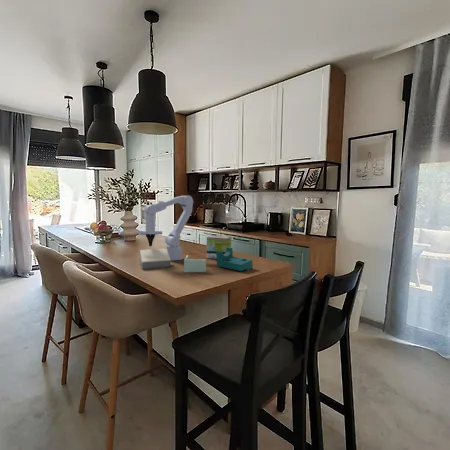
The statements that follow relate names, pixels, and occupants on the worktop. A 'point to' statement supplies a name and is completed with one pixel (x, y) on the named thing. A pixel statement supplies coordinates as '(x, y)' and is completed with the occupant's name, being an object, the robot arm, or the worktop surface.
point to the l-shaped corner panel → (194, 265)
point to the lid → (154, 255)
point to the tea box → (217, 245)
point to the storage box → (154, 264)
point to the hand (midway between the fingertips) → (150, 246)
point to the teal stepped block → (232, 261)
